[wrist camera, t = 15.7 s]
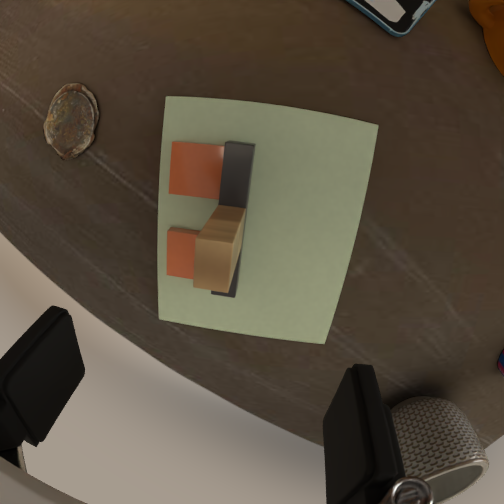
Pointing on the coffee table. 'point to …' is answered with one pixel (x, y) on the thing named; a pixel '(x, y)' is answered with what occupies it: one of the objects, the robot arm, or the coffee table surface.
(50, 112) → the decorative disc
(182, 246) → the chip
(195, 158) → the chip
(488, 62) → the coffee table surface
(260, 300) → the mat
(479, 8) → the mug
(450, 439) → the planter
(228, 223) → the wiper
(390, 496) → the robot arm
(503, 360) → the cup
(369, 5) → the smartphone
